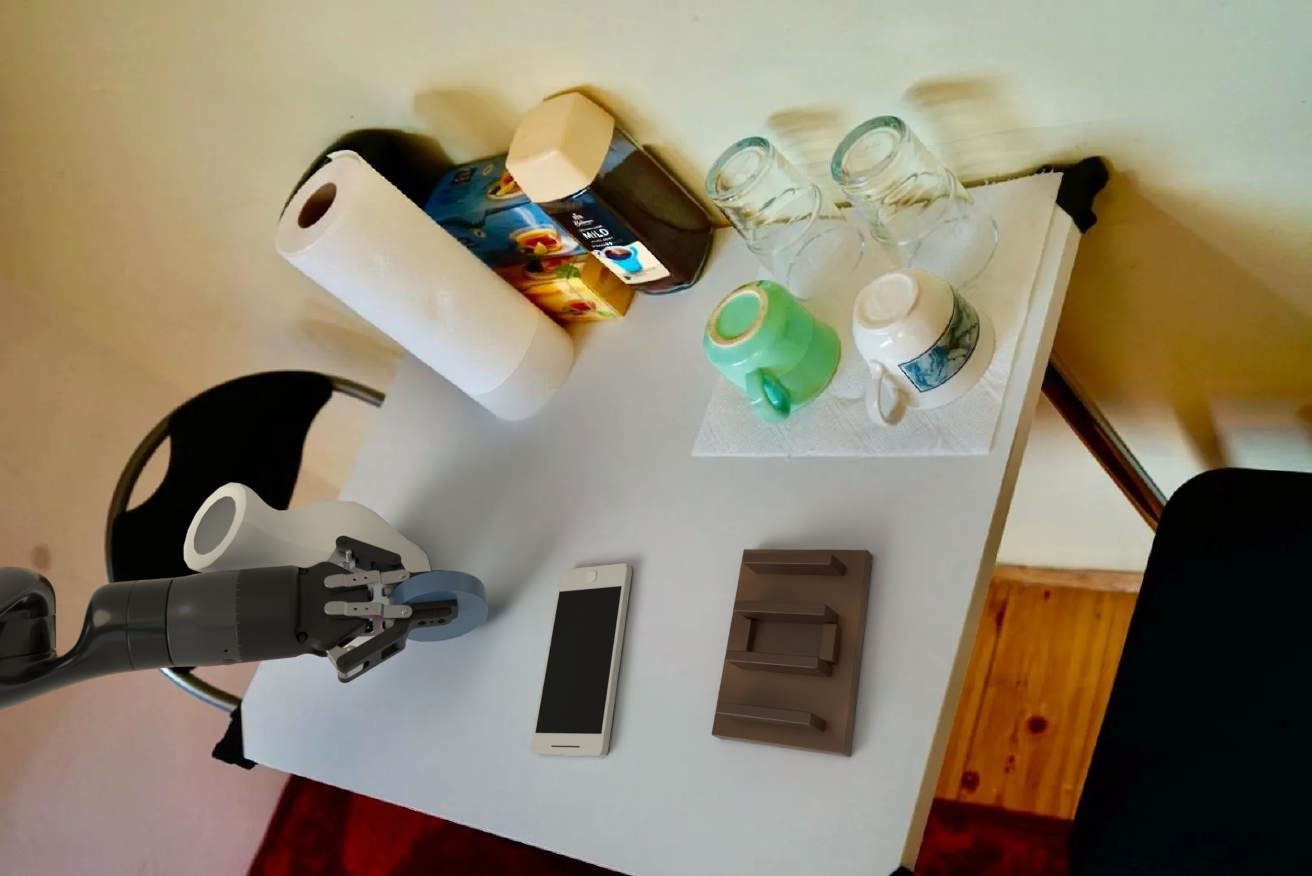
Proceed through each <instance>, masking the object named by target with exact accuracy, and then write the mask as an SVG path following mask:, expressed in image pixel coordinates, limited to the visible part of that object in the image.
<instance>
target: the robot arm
mask: <svg viewBox="0 0 1312 876" xmlns="http://www.w3.org/2000/svg"><path fill="white" fill-rule="evenodd" d="M353 567H356V568H359V569H362V570H365V571H367V572H361V573H353V572H351V571H349V570H351V569H352V568H353ZM345 568H347V569H349V570H347V569H345ZM434 571H445V570H443V569H437V570H436V569H435V570H431V571H424V572H409V571H407V570H406V569H405V568H404V566H403V564H402V562H401V556H400V555H399V554H397V553H394V552H391V551H388V550H385V549H382V548H380V547H377V546H374V545H371V544H368V543H365V542H362V541H359V540H356V539H353V538H350V537H348V536H339V537H338V538H337V539H336V548H335V550H334V552H333V553H332V555H331V556H330V558H329V559H328V561H323V562H319V563H317V564H315V565H313V566H311V567H307V568H302V567H297V566H294V565H288V566H275V567H262V568H249V569H238V570H225V571H212V572H204V573H203V572H198V573H193V574H190V575H184V576H177V577H165V578H151V579H150V578H149V579H139V580H138V579H137V580H128V581H117V582H110V583H107V584H103V585H102V586H99V587H98V588H96V589H95V591H93V593H92V595H91V597H90V599H89V600H88V603H87V607H86V609H85V614H84V618H83V622H82V625H81V628H80V632H79V635H78V638H77V640H76V642H75V643H74V645H73V646H72V647H71V648H70V649H69V650H68V651H66V652H65V653H64V654H61V655H58V653H57V596H56V592H55V589H54V586H53V585H52V583H51V582H50V581H49V579H48V578H47V577H46V576H44V575H43V574H42V573H40V572H38V571H36V570H34V569H32V568H28V567H23V566H14V565H13V566H11V565H10V566H9V565H8V566H0V711H2V710H7V709H10V708H13V707H16V706H18V705H19V706H20V705H21V704H24V703H27V702H29V701H33V700H35V699H38V698H40V697H43V696H45V695H49V694H51V693H54V692H56V691H59V690H62V689H64V688H67V687H71V686H74V685H78V684H81V683H83V682H86V681H90V680H94V679H98V678H102V677H108V676H113V675H117V674H124V673H133V672H140V671H149V670H157V669H158V670H159V669H169V668H175V667H178V668H179V667H181V668H182V667H199V668H200V667H202V668H203V667H204V668H205V667H206V668H207V667H218V666H219V667H220V666H231V665H237V664H247V663H255V662H256V663H257V662H265V661H274V660H275V661H276V660H282V659H292V658H293V659H294V658H297V657H299V656H304V655H313V656H317V657H319V658H327V659H328V660H329V661H330V663H331V664H332V665H333V667H334V668H335V670H336V672H337V680H338V681H339V683H342V684H348V683H350V682H352V681H354V680H355V679H357V678H359V677H361V676H363V675H364V674H365V673H367V672H369V671H370V670H372V669H374V668H376V667H377V666H379V665H380V664H382V663H384V662H386V661H387V660H389V659H391V658H392V657H394V656H396V655H397V654H399V653H401V652H403V651H404V650H405V649H406V645H407V644H406V643H407V641H408V639H407V637H408V634H409V633H410V631H411V630H413V629H415V628H422V627H432V626H442V625H447V624H449V623H451V620H453V619H456V618H457V617H458V601H457V600H454V599H452V600H441V601H431V602H420V603H413V607H410V606H409V605H384V604H382V603H381V602H382V601H383V600H385V599H389V597H390V594H391V593H392V591H393V590H394V589H395V588H396V587H397V586H398V585H399V584H401V583H402V582H404V581H406V580H407V579H410V578H412V577H414V576H417V575H420V574H424V573H428V572H434ZM368 587H372V588H371V589H370V590H369V589H368ZM370 619H372V620H371V621H370ZM364 636H375V637H373V638H371V639H369V640H368V641H366V642H364V643H362V644H361V645H359V646H357V647H355V646H353V645H350V646H348V647H345V646H346V645H347V644H349V643H350V642H352V641H353V640H354V639H356V638H357V637H364ZM343 647H345V648H343Z"/></svg>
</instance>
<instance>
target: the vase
mask: <svg viewBox="0 0 1312 876" xmlns="http://www.w3.org/2000/svg"><path fill="white" fill-rule="evenodd" d="M339 536H348V537H350V538H353V539H356V540H359V541H362V542H365V543H368V544H371V545H374V546H377V547H380V548H382V549H385V550H388V551H391V552H394V553H397V554H399V555H400V556H401V562H402V564H403V566H404V568H405V569H406V570H407V571H409V572H424V571H432V568H431V565H430V561H429V557H428V554H427V553H426V552H425V551H424V550H423V549H422V548H421V547H420V546H419V545H418V544H416V543H415V542H413V541H411V540H409V539H408V538H406V537H405V536H404V535H403V534H401V533H400V532H399V531H398V530H397V529H395V528H394V527H393V525H391V524H390V522H388V521H387V520H386V519H385V518H383V516H381V515H380V514H379V513H377V512H376V511H374V510H373V509H372V508H370V507H368V506H366V505H364V504H362V503H358V502H355V501H348V500H341V499H340V500H339V499H331V498H327V499H318V500H315V501H312V502H309V503H306V504H303V505H301V506H298V507H295V508H290V509H284V510H283V509H282V510H278V509H276V508H273V507H272V506H270V505H269V504H268V503H266V502H265V501H264V500H263V499H262V498H261V497H260V496H259V495H258V493H256V492H255V491H254V490H253V489H252V488H250V487H249V486H247V485H244V484H242V483H239V482H228V483H226V484H224V485H222V486H220V487H218V489H216V490H215V491H214V492H213V493H211V494H210V495H209V496H208V497H207V498H206V500H205V501H204V502H203V503H202V504H201V506H200V507H199V509H198V510H197V512H196V513H195V515H194V517H193V519H192V521H191V523H190V525H189V527H188V529H187V533H186V537H185V541H184V544H183V560H184V562H185V563H186V566H187V567H188V568H189V569H190V570H193V571H195V572H198V573H204V572H212V571H225V570H238V569H249V568H262V567H275V566H288V565H294V566H297V567H302V568H307V567H311V566H313V565H315V564H317V563H319V562H323V561H328V559H329V558H330V556H331V555H332V553H333V552H334V550H335V548H336V539H337V538H338V537H339ZM345 569H347V568H345ZM347 570H349V569H347ZM349 571H351V572H353V573H361V572H367V571H365V570H362V569H359V568H356V567H353V568H352V569H351V570H349ZM371 588H372V587H368V589H369V590H370V589H371ZM388 600H389V599H385V600H383V601H382V602H381V603H382V604H384V605H388ZM371 620H372V619H370V621H371ZM373 637H375V636H364V637H357V638H356V639H354V640H353V641H352V642H350V643H349V644H347V645H346V646H345V647H348V646H350V645H353V646H355V647H357V646H359V645H361V644H362V643H364V642H366V641H368V640H369V639H371V638H373ZM345 647H343V648H345Z"/></svg>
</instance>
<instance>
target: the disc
mask: <svg viewBox="0 0 1312 876" xmlns="http://www.w3.org/2000/svg"><path fill="white" fill-rule="evenodd" d="M433 571H434V572H428V573H424V574H420V575H417V576H414V577H412V578H410V579H407V580H406V581H404V582H402V583H401V584H399V585H398V586H397V587H396V588H395V589H394V590H393V591H392V593H391V594H390V597H389V600H388V605H409V606H410V607H413V603H420V602H431V601H441V600H452V599H454V600H457V601H458V617H457V618H456V619H453V620H451V623H449V624H447V625H442V626H432V627H422V628H415V629H413V630H411V631H410V633H409V634H408V637H407V640H411V641H413V642H422V643H423V642H424V643H429V642H430V643H433V642H443V641H449V640H453V639H456V638H460V637H462V636H465V635H467V634H469V633H471V632H473V631H474V630H476V629H477V628H479V627H480V626H481V625H482V624H483V623H484V622H485V621H486V619H487V617H488V614H489V605H488V604H489V603H488V596H487V590H486V587H485V585H484V583H483V582H482V581H481V579H479V578H478V577H476V576H475V575H473V574H470V573H468V572H467V573H466V572H465V571H464V572H463V571H460V570H459V571H457V570H444V571H435V570H433Z"/></svg>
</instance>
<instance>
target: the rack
mask: <svg viewBox="0 0 1312 876" xmlns="http://www.w3.org/2000/svg"><path fill="white" fill-rule="evenodd" d="M873 558H874V556H873V554H872V553H871V552H870V551H869V550H868V549H805V548H803V549H799V548H798V549H797V548H796V549H795V548H794V549H793V548H791V549H786V548H784V549H783V548H782V549H781V548H779V549H777V548H776V549H775V548H771V549H770V548H766V549H765V548H764V549H763V548H747V549H746V548H744V549H743V551H742V556H741V562H740V569H739V574H738V580H737V586H736V590H735V597H734V601H733V602H734V603H733V608H732V615H731V621H730V627H729V631H728V638H727V644H726V649H725V655H724V661H723V665H722V666H723V667H722V672H721V678H720V683H719V690H718V696H717V700H716V707H715V711H714V717H713V724H712V729H711V736H713V737H715V738H717V739H719V740H726V741H732V742H733V741H734V742H740V743H746V744H747V743H748V744H753V745H762V746H767V747H768V746H769V747H775V748H782V749H788V750H795V751H801V752H802V751H803V752H808V753H809V752H810V753H815V754H822V755H829V756H838V757H844V758H850V757H851V753H852V745H853V744H852V743H853V734H854V725H855V718H856V708H857V701H858V700H857V698H858V690H859V683H860V674H861V673H860V672H861V665H862V663H861V662H862V655H863V645H864V639H865V637H864V636H865V628H866V627H865V626H866V620H867V613H868V612H867V610H868V601H869V593H870V586H871V585H870V584H871V575H872V567H873Z"/></svg>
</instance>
